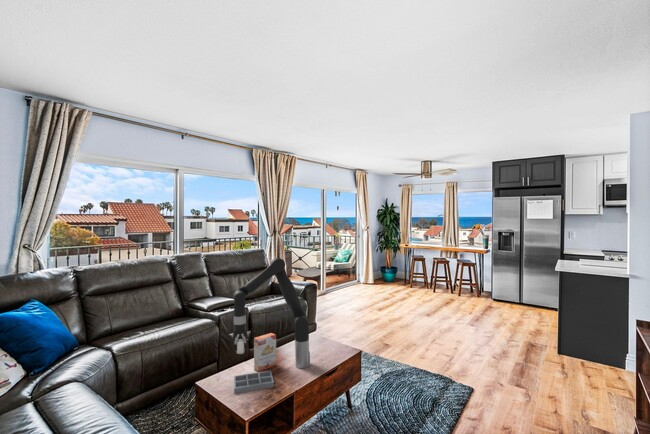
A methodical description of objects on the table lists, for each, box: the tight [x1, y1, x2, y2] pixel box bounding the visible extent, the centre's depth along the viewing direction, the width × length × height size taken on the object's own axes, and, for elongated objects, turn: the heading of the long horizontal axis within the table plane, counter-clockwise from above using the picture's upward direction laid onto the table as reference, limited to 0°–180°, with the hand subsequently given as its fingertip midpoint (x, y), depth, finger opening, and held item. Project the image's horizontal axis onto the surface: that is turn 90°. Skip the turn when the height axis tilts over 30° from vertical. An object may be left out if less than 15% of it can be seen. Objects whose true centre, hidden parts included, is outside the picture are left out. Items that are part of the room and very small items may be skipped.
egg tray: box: [233, 370, 275, 394], centre depth 191 cm, size 22×15×3 cm
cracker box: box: [253, 332, 277, 373], centre depth 212 cm, size 14×6×21 cm, turn 134°
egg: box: [236, 338, 245, 355], centre depth 203 cm, size 5×5×8 cm
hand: (240, 348), depth 203 cm, fingers closed on egg, 4 cm apart
